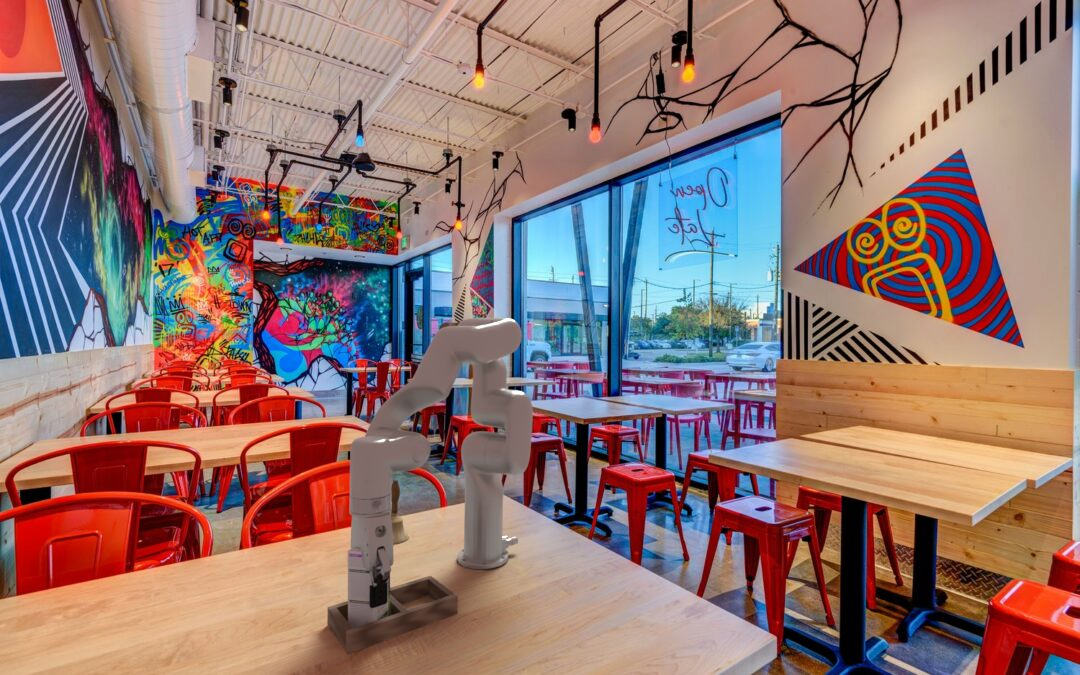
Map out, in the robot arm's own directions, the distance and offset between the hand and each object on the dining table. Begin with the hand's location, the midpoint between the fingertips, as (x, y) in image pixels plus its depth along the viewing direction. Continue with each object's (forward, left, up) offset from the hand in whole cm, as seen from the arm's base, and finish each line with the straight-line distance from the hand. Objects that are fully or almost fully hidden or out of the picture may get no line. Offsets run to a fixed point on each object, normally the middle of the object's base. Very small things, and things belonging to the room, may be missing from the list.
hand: (369, 595), depth 98 cm
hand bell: (-22, -39, -6) cm, 45 cm away
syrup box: (0, 0, -5) cm, 5 cm away
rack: (-5, 0, -6) cm, 8 cm away
